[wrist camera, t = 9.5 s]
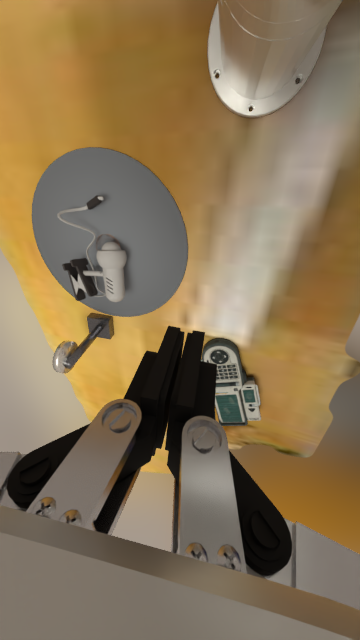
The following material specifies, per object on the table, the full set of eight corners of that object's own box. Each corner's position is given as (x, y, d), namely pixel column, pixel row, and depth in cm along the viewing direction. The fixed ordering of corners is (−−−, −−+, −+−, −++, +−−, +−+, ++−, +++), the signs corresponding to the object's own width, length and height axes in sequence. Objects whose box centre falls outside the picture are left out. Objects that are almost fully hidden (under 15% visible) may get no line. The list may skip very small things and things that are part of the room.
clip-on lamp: (70, 201, 42) (84, 296, 48) (42, 195, 36) (61, 304, 42) (127, 198, 39) (134, 300, 45) (106, 191, 33) (117, 309, 39)
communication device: (248, 331, 48) (252, 359, 40) (261, 407, 59) (266, 440, 51) (193, 339, 51) (187, 365, 44) (215, 409, 62) (213, 440, 55)
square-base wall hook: (91, 310, 51) (47, 354, 39) (112, 314, 51) (74, 359, 38) (94, 332, 55) (54, 378, 42) (114, 335, 54) (79, 383, 42)
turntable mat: (10, 138, 36) (9, 138, 36) (198, 157, 33) (198, 157, 33) (52, 304, 52) (51, 304, 52) (180, 326, 49) (179, 327, 49)
